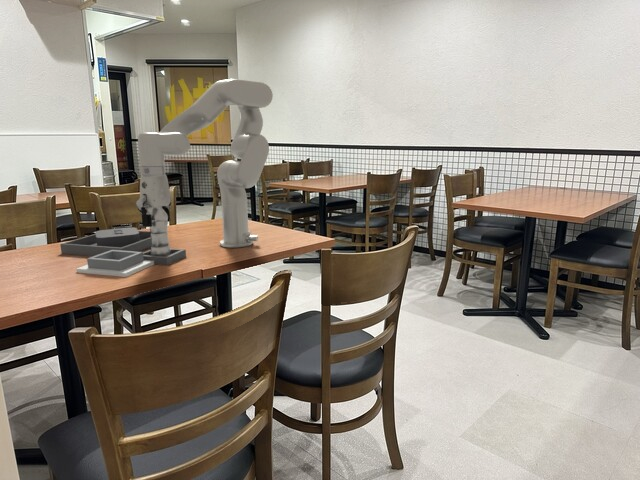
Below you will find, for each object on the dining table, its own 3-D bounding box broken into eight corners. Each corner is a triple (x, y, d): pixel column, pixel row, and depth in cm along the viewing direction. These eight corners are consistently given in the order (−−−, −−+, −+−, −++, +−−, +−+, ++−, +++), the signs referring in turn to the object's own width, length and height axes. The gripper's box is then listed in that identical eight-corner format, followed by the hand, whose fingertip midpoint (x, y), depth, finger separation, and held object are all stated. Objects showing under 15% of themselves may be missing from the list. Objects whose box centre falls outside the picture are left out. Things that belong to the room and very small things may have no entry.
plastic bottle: (176, 257, 152) (171, 199, 147) (163, 263, 146) (157, 202, 141) (160, 256, 154) (154, 199, 150) (147, 261, 148) (141, 202, 143)
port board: (155, 263, 145) (153, 251, 144) (126, 277, 132) (124, 263, 131) (109, 260, 150) (107, 248, 149) (76, 272, 137) (74, 259, 136)
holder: (186, 256, 154) (185, 249, 153) (167, 265, 143) (166, 257, 143) (156, 254, 157) (155, 247, 156) (136, 262, 147) (135, 255, 146)
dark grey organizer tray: (167, 240, 176) (166, 232, 175) (122, 258, 152) (121, 248, 151) (112, 237, 183) (111, 229, 182) (61, 253, 159) (60, 244, 158)
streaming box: (141, 247, 165) (139, 233, 164) (98, 252, 158) (96, 238, 157) (137, 239, 177) (135, 226, 176) (96, 243, 171) (95, 230, 170)
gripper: (145, 173, 134) (149, 229, 138) (178, 170, 150) (181, 220, 154) (124, 173, 136) (129, 228, 140) (159, 169, 152) (162, 219, 156)
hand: (156, 223), depth 147 cm, fingers open, 9 cm apart
